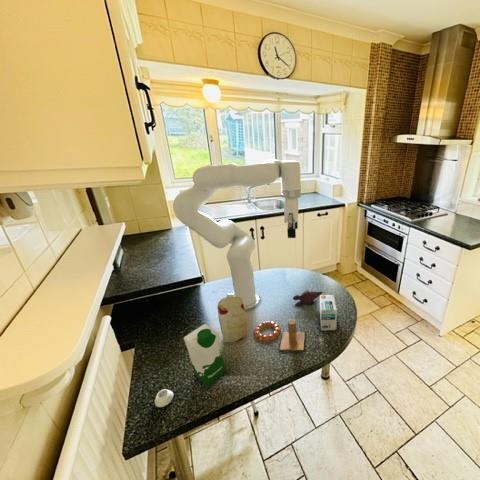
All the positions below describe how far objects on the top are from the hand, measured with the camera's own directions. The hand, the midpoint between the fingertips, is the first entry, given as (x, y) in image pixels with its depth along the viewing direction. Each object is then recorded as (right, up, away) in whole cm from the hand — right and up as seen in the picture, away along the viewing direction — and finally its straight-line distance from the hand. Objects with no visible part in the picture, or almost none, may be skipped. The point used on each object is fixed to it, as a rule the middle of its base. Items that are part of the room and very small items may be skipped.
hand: (292, 232), depth 108 cm
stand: (+1, -44, -7) cm, 44 cm away
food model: (-22, -43, -5) cm, 49 cm away
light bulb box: (+15, -39, +4) cm, 42 cm away
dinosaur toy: (+6, -34, +15) cm, 37 cm away
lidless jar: (-37, -53, -28) cm, 71 cm away
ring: (-10, -41, -3) cm, 42 cm away
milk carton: (-26, -50, -20) cm, 60 cm away
